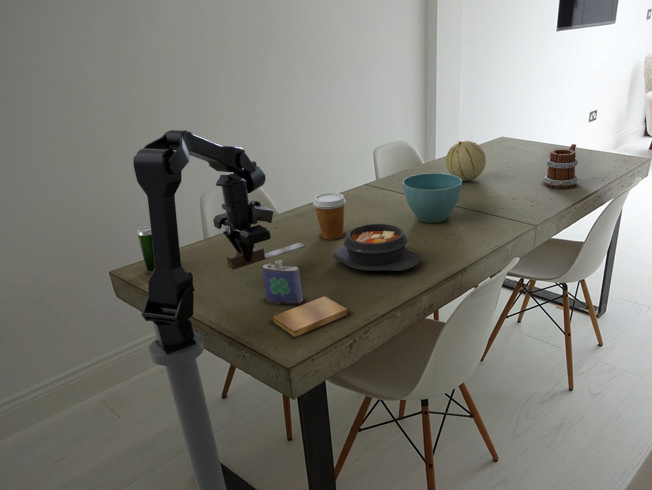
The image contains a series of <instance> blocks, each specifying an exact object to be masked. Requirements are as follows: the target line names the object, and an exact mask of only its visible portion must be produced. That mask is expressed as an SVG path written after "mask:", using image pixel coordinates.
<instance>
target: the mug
mask: <svg viewBox="0 0 652 490" xmlns="http://www.w3.org/2000/svg"><path fill="white" fill-rule="evenodd" d="M576 148H577V144H575V143H572V144H571V145H570V147H569V148H568V149H567V148H557V149H552V150H550V151H549V157H548V159H547V160H546V165H547V172H546V174H545V175H544V178H543V181H544V182H545V183H544V185H545V186H546V187H548V188H553V189H557V190H558V189H559V190H561V189H562V190H564V189H572V188H573V187H575V186H576V183H577V182H578V181H579V180H578V176H576V167H577V166H578V164H579V163H578V160H577V157H576V156H577V155H576V153H577V152H576Z"/></svg>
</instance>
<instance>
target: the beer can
mask: <svg viewBox="0 0 652 490" xmlns="http://www.w3.org/2000/svg"><path fill="white" fill-rule="evenodd" d="M136 231H137V238H138V241H139V247H140V250H141V254H142V257H143V262H144V265H145V269H146V271H147V272H148V274H152V273H153V271H154V269H155V262H154V253H153V244H152V234H151V225H150V224H147V225H143V226H139V227H138V228H137V230H136Z"/></svg>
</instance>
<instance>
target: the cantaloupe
mask: <svg viewBox="0 0 652 490" xmlns="http://www.w3.org/2000/svg"><path fill="white" fill-rule="evenodd" d="M445 164H446V168H447V170H448V172H449V174H450V175H454V176H457V177H459V178H460V179H461V180H462V182H467V181H471V180H475V179H477V178H479V176H481V174H482V173H483V172H484V169H485V168H486V164H487V159H486V154H485V151H484V149H483V148H482V147H481V146H480V145H479V144H478V143H477V142H475V141H473V140H468V139H467V140H459V141H458V142H456V143H454V144H453V145H452V146H450V148H449V150H448V151H447V153H446V157H445Z"/></svg>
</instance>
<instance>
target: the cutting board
mask: <svg viewBox="0 0 652 490" xmlns="http://www.w3.org/2000/svg"><path fill="white" fill-rule="evenodd" d="M348 312H349V311H348V308H347V307H344V306H343V305H341V304H339V303H338V302H336V301H334V300H332V299H331V298H329V297H327V296H326V295H324V296H321V297H319V298H316V299H313V300H311V301H309V302H306V303H303V304H300V305H299V306H296V307H293V308H290V309H288V310H286V311H282V312H281V313H278V314H276V315H275V314H274V315H273V316H272V320H273V324H275V325H277V326H278V327H280V328H281V329H282V330H284V331H286V332H287V333H289V334H290V335H291V336H293V337H295V338H297V337H298V336H301V335H303V334H306V333H308V332H310V331H312V330H315V329H317V328H320V327H322V326H324V325H326V324H329V323H332V322H334V321H337V320H339V319H341V318H343V317H345V316H348V315H349V313H348Z"/></svg>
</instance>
